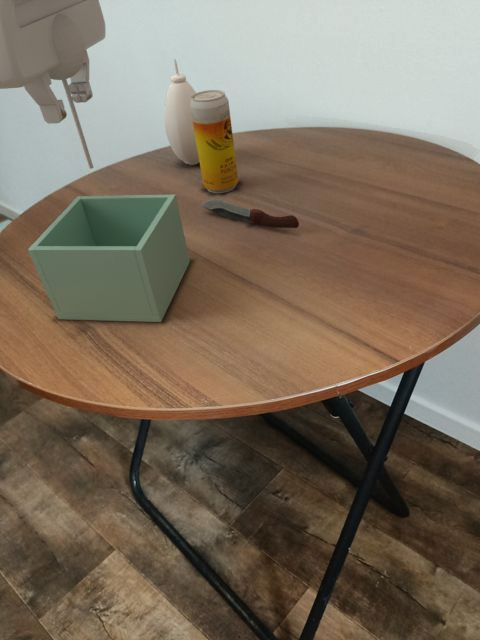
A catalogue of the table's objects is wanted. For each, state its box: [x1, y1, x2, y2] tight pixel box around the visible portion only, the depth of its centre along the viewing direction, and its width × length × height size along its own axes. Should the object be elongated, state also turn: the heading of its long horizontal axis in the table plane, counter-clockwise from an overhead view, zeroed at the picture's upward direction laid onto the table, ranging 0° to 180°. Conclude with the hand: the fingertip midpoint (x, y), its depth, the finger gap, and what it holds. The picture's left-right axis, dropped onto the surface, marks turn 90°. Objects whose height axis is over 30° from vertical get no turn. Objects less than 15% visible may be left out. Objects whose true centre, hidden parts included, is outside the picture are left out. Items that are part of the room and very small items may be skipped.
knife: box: [200, 198, 300, 229], centre depth 79 cm, size 18×2×3 cm, turn 55°
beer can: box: [190, 89, 239, 194], centre depth 86 cm, size 6×6×15 cm
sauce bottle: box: [163, 58, 200, 166], centre depth 94 cm, size 8×8×18 cm
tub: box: [27, 194, 191, 323], centre depth 66 cm, size 14×14×10 cm
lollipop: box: [48, 14, 94, 170], centre depth 53 cm, size 6×6×15 cm
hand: (70, 110), depth 54 cm, fingers closed on lollipop, 5 cm apart
